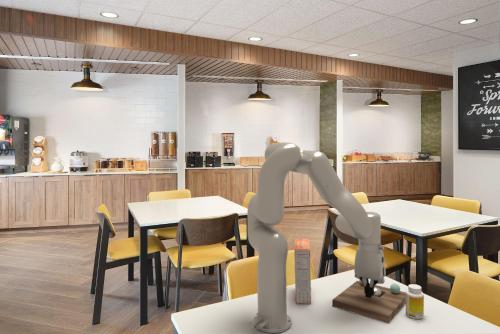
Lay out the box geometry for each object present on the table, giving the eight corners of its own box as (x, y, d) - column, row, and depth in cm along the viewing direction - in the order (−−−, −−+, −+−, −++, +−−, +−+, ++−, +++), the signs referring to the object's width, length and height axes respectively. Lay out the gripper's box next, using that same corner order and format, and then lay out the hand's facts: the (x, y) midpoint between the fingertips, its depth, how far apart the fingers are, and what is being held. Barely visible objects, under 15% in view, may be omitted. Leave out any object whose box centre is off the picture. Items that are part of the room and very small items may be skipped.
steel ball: (384, 292, 135) (381, 303, 132) (372, 290, 138) (369, 300, 135) (381, 285, 132) (378, 296, 130) (369, 283, 135) (366, 293, 133)
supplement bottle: (427, 318, 119) (427, 288, 118) (412, 320, 117) (413, 290, 117) (416, 310, 124) (416, 282, 123) (402, 312, 123) (402, 284, 122)
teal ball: (398, 295, 131) (398, 286, 130) (388, 293, 133) (388, 284, 132) (401, 292, 133) (401, 283, 133) (391, 290, 135) (391, 281, 135)
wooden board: (388, 323, 116) (388, 316, 116) (332, 306, 129) (332, 299, 129) (408, 299, 133) (408, 293, 133) (357, 286, 146) (357, 280, 145)
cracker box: (295, 288, 145) (294, 238, 144) (310, 288, 144) (309, 238, 143) (294, 303, 131) (294, 248, 130) (311, 304, 131) (310, 248, 129)
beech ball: (366, 287, 138) (366, 279, 138) (357, 285, 140) (357, 277, 140) (369, 284, 141) (369, 276, 141) (361, 282, 143) (361, 274, 143)
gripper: (394, 247, 126) (393, 298, 127) (353, 240, 136) (353, 287, 137) (387, 253, 120) (386, 305, 122) (345, 245, 130) (345, 294, 131)
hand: (369, 296), depth 129 cm, fingers closed
